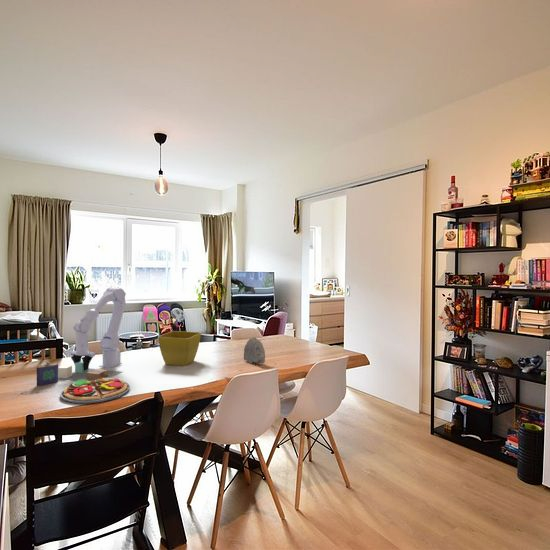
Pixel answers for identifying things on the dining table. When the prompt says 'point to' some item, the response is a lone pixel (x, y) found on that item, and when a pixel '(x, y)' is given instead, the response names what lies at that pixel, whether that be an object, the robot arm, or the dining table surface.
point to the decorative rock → (254, 351)
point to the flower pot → (179, 347)
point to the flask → (47, 374)
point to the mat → (82, 376)
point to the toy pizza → (94, 390)
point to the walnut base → (97, 374)
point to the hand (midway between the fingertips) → (81, 369)
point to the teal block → (80, 367)
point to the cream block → (64, 371)
